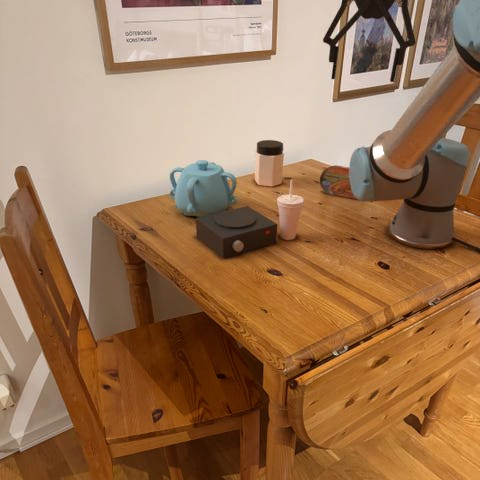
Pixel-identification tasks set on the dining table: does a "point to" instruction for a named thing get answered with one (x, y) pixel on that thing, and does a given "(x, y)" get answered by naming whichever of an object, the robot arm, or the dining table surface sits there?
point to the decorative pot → (202, 189)
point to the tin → (336, 181)
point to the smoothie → (289, 214)
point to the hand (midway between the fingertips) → (362, 80)
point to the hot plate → (236, 231)
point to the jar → (269, 163)
